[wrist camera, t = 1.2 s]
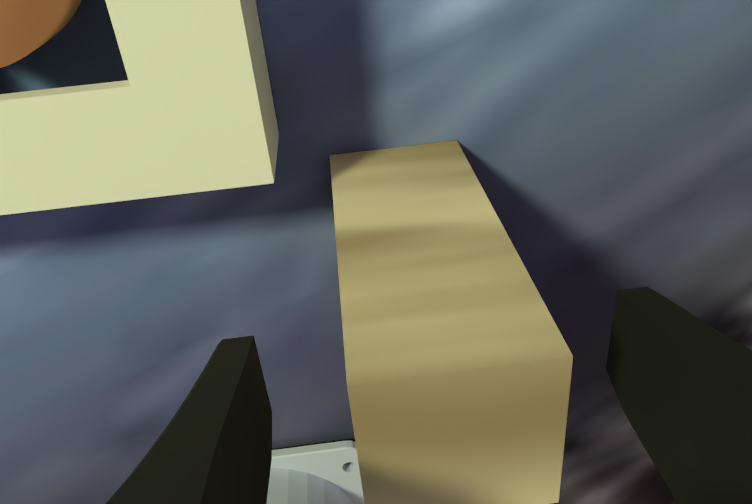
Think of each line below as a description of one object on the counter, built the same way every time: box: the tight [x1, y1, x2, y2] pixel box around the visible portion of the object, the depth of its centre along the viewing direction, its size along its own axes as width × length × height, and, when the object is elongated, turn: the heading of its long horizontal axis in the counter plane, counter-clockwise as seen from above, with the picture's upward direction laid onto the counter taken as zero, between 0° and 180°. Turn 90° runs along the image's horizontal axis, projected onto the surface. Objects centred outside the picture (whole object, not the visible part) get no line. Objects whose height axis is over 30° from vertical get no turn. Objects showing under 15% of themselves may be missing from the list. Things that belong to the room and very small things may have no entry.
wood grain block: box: [330, 140, 573, 504], centre depth 15 cm, size 4×4×9 cm
